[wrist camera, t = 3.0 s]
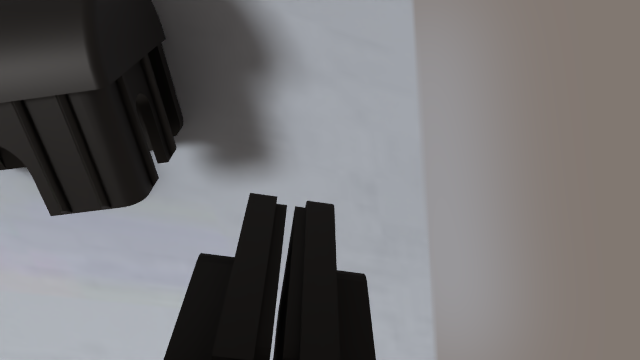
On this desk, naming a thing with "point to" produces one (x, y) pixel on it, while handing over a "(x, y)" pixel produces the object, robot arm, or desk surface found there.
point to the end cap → (85, 100)
